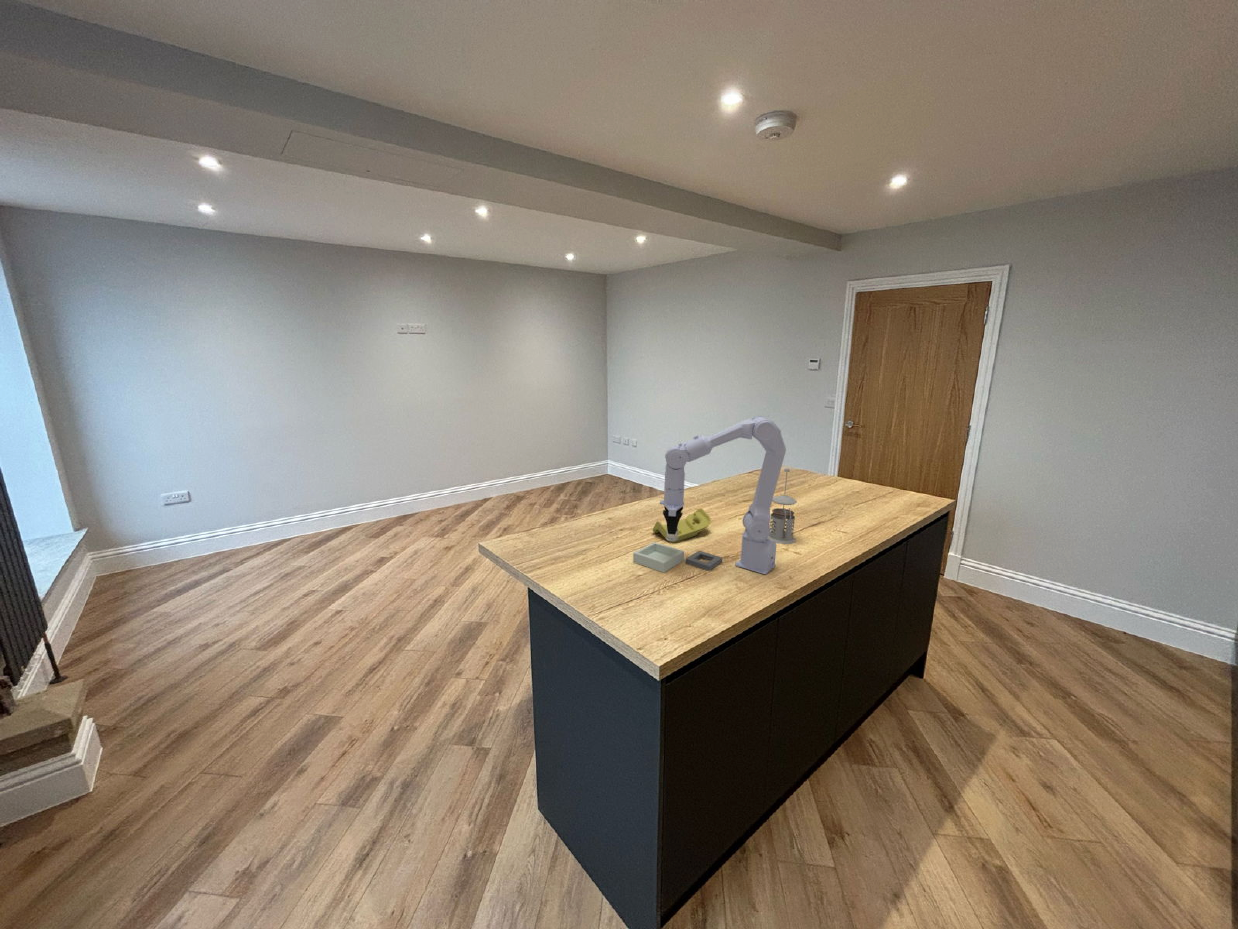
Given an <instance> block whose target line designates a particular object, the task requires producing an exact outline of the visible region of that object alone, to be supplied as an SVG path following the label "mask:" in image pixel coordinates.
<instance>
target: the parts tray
mask: <svg viewBox="0 0 1238 929" xmlns="http://www.w3.org/2000/svg"><path fill="white" fill-rule="evenodd" d="M684 561H685V551H684V550H682V549H679V548H676V547H672V546H669V545H666V544H662V543H659V542H656V541H653V542H651V543H650V544H648V545H646V546H644V547H641V548H640V549H638V550H635V551H634V552H633V553H632V563H635V564H638V565H641V566H643V567H645V568H649V569H653V570H655V571H658V572H660V573H666V572H667V571H669V570H670V569H672V568H674V567H675V566H677V565H679V564H681V563H682V562H684Z"/></svg>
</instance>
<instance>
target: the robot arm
mask: <svg viewBox="0 0 1238 929" xmlns="http://www.w3.org/2000/svg"><path fill="white" fill-rule="evenodd" d="M739 438H740V439H747V440H753V438H754V439H756V440H757V441H758V442H759V444H760V445H761V446H762V448H763V450H764V451H765V454H764V458H763V462H762V466H761V468H760V474H759V477H758V480H757V483H756V484H757V485H756V488H755V492H754V496H753V500H752V503H751V504H750V505H749V506H748V509H747V511H746V513H745V514H744V515H743V517H742V525H743V527H744V531H743V532H742V537H741V548H740V549H741V550H740V551H741V552H740V559H739V560H738V561H736V562H735V564H734V566H736V567H739V568H743V569H745V570H749V571H753V572H756V573H759V574H762V575H766V574H768V573H769V572H771V570H773V569H774V568H775V567H776V554H777V543H775V542H773V541H771V540H769V539H768V536H769V535H770V531H771V530H770V528H771V526H770V524H771V523H770V521H771V507H772V503H773V501H772V500H773V498H774V497H775V496H774V495H775V492H776V488H777V485H778V481H779V477H780V474H781V470H782V467H783V463H784V459H785V455H786V452H787V449H786V448H787V447H786V445H785V442H784V439H783V437H782V432H781V429H780V428H779V426H778V424H776V423H775V422H774V421H772V420H770V419H768V418H767V417H766V416H764V415H756V416H754V417H752V418H748V419H747V418H746V419H743V421H739V422H738V423H735V424H734V425H731V426H729V427H726V428H724V429H722V430H720V431H719V432H716V433H715V434H712V435H709V436H706V435H703V434H701V435H699V434H695V435H694V436H693V438H691V439H689V440H687V441H685V442H679V443H678V444H677V445H673V446H670V447H669V448H668V449H667V450H666V452H665V455H664V458H665V464H666V465H665V472H664V485H663V486H664V490H663V492H664V493H663V500H662V499H661V500H660V501H659V505H663V508H664V509H663V510H662V514H663V517H664V519H665V523H666V525H667V530H668V534H674V535H675V534H676V531H677V526H678V523H679V520H681V518H682V516H683V512H682V511H683V509H684V506H685V502H684V499H685V498H684V496H685V495H684V494H685V480H686V479H685V477H686V476H685V475H686V473H685V467H686V465H687V463H690V462H693V461H696V460H697V459H700V458H703V457H705V456H707V455H710V454H711V453H712V452H711V451H712V450H713V448H715V447H719V446H721V445H723V444H726V443H729V442H731V441H734V440H737V439H739Z"/></svg>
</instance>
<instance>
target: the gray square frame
mask: <svg viewBox="0 0 1238 929" xmlns="http://www.w3.org/2000/svg"><path fill="white" fill-rule="evenodd" d="M700 559H702V560H703V561H702V560H700ZM704 560H705V561H704ZM706 561H707V562H706ZM721 563H723V557H721V556H718V555H715V554H713V553H709V552H706V551H702V550H698V551H696V552H693V554H691V555H689V556H688V557H686V558H685V564H686V565H689V566H692V567H696V568H699V569H702V570H705V571H708V572H710V571H712V570H713V569H714V568H716V567H718V565H720V564H721Z"/></svg>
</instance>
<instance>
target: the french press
mask: <svg viewBox="0 0 1238 929" xmlns="http://www.w3.org/2000/svg"><path fill="white" fill-rule="evenodd" d="M783 471H784V472H786V474H785V484H784V485H785V487H784V492H786V490H787V481H788V480H787V479H788V473H790V472H791V469H790V468H789V467H785V468H784V469H783ZM772 503H774V504H777V505H783V507H782V508H781V507H780V508H774V509H772V513H770V523H769V526H770V535H769V536H768V539H769V540H771V541H773V542H775V543H776V544H781V545H791V544H794V543H796V538H795V537H794V530H795V529H794V528H795V521H796V517H795V512H794V511H793V510H791V508H790V507H789V508H788V509H787V508H785V506H792V505H796V504H797V503H798V501H797V500H796V498H794V497H791V496H789V495H786V493H784V495H783V494H782V495H781V494H780V495H776V496H773V500H772Z"/></svg>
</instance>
